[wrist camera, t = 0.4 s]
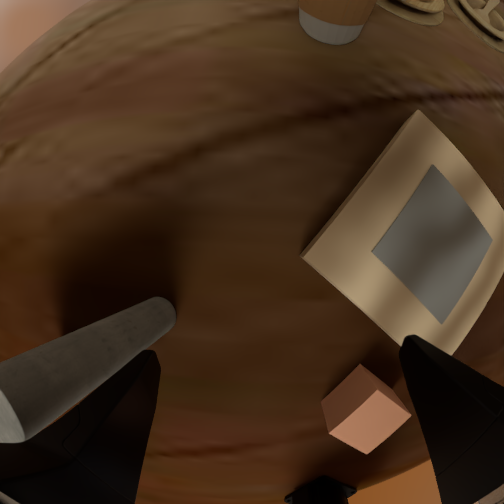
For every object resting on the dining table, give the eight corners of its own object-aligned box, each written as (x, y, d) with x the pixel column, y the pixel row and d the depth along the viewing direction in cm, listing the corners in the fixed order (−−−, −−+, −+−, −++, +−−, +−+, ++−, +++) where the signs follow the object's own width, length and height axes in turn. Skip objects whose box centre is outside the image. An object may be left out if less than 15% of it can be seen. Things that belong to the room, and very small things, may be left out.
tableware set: (473, -3, 18) (484, -18, 12) (525, 78, 18) (544, 66, 12) (333, -39, 20) (337, -65, 14) (387, 40, 21) (403, 8, 15)
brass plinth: (501, 237, 20) (520, 236, 16) (419, 364, 21) (434, 378, 18) (404, 122, 20) (419, 108, 17) (299, 255, 22) (303, 257, 18)
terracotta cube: (391, 388, 21) (411, 415, 16) (354, 423, 22) (366, 454, 17) (359, 363, 22) (377, 389, 17) (320, 401, 22) (328, 433, 17)
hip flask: (166, 291, 23) (-58, 385, 3) (187, 333, 23) (14, 498, 3) (59, 340, 24) (-78, 400, 4) (75, 373, 24) (-51, 450, 4)
